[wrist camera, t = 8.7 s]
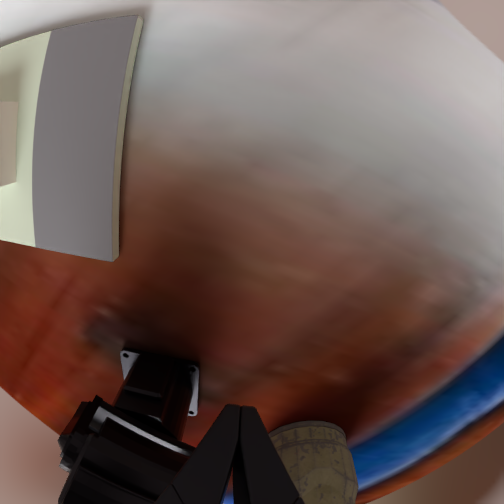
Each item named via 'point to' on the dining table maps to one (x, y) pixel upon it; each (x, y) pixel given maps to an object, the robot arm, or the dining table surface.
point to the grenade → (317, 461)
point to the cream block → (8, 141)
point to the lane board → (26, 93)
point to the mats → (79, 136)
